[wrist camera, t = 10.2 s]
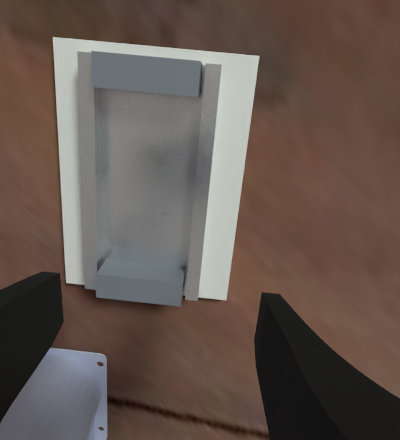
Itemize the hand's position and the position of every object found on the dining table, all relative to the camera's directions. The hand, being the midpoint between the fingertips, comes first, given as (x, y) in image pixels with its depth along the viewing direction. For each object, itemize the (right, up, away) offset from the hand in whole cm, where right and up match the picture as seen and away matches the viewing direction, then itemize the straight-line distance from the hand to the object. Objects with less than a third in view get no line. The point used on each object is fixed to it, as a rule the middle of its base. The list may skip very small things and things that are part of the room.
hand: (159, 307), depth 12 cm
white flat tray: (-1, +5, +9) cm, 11 cm away
